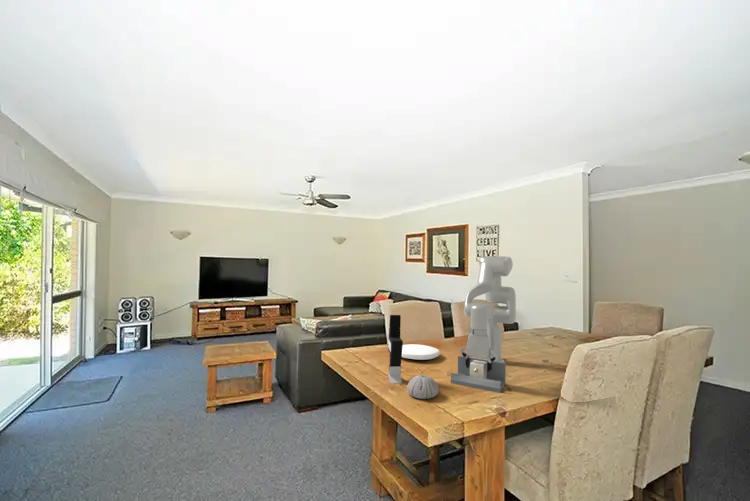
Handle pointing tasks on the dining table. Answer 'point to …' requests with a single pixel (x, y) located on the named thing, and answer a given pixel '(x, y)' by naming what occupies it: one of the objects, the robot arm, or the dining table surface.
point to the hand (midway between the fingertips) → (478, 369)
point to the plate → (419, 352)
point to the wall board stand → (492, 383)
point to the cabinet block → (478, 369)
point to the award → (395, 349)
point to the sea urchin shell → (422, 387)
